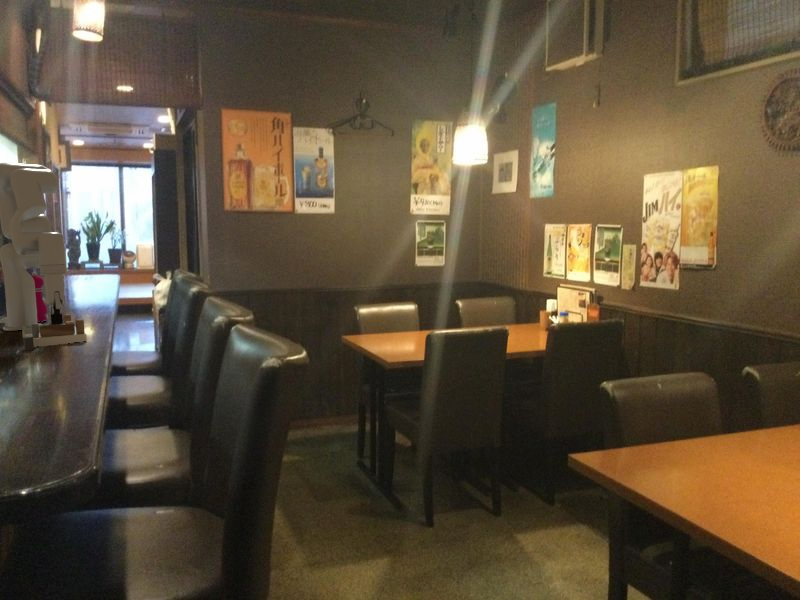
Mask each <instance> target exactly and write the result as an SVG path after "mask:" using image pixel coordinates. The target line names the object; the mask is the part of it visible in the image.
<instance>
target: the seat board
mask: <svg viewBox="0 0 800 600" xmlns="http://www.w3.org/2000/svg"><path fill="white" fill-rule="evenodd" d="M62 317H63V324H66V322H68V321H72V314H62ZM42 325H49V323H44V324H42ZM42 325H38V324H32V326H22V331H21V332H22V338H23V339H22V340H23V350H24V351H25V352H29V351H28V350H30V351H34V350H35V348H37V346H39V347H48V346H49V345H50V346H59V344H60V345H68V343H70V344H75V343H74V342H80V343H84V342H83V341H87V334H86V331H85V320H84V319H75V334H64V335H53V336H43V337H41V336H40V326H42Z"/></svg>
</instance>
